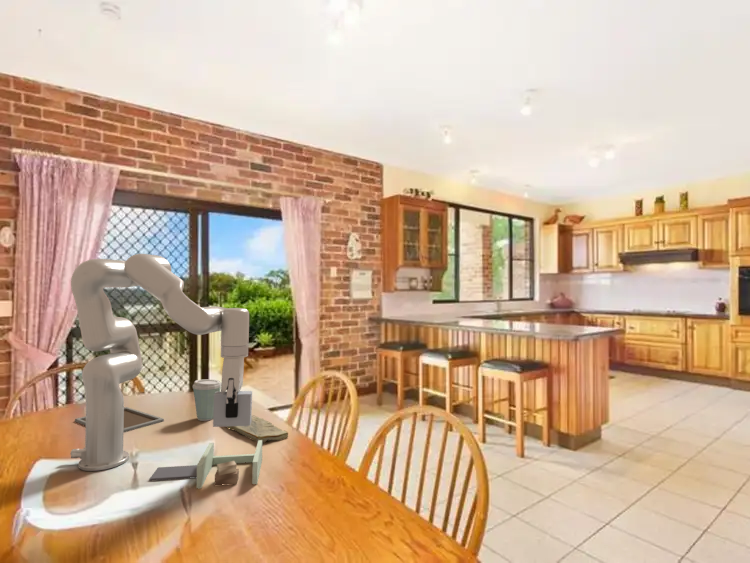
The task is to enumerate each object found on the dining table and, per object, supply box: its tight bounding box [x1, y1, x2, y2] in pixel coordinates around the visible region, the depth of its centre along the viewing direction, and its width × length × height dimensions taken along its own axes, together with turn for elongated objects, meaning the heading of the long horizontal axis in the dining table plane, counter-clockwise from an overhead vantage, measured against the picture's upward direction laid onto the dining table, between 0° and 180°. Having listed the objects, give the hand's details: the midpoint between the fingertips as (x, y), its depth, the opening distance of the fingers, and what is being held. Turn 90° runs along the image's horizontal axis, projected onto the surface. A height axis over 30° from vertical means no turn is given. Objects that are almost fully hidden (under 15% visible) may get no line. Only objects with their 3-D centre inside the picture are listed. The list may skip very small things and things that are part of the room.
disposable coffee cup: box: [192, 379, 222, 422], centre depth 166 cm, size 11×11×15 cm
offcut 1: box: [216, 461, 237, 475], centre depth 113 cm, size 4×3×2 cm, turn 122°
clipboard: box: [74, 406, 165, 433], centre depth 162 cm, size 19×2×30 cm
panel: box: [148, 464, 197, 482], centre depth 118 cm, size 13×7×1 cm, turn 100°
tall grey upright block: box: [212, 390, 253, 428], centre depth 121 cm, size 10×4×9 cm, turn 100°
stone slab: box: [226, 414, 289, 444], centre depth 153 cm, size 12×4×30 cm
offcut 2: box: [214, 468, 240, 486], centre depth 113 cm, size 6×3×3 cm, turn 100°
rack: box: [196, 440, 263, 489], centre depth 119 cm, size 15×16×6 cm
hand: (232, 414), depth 121 cm, fingers closed on tall grey upright block, 3 cm apart
